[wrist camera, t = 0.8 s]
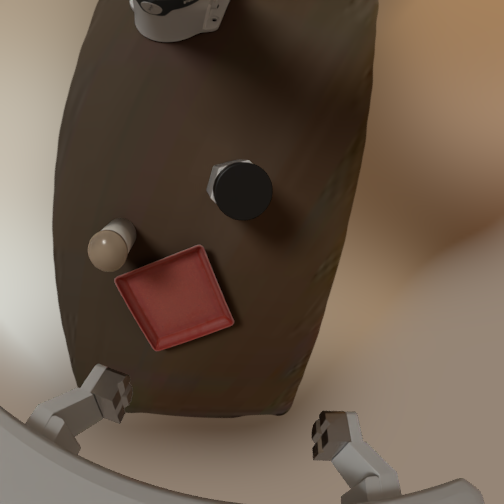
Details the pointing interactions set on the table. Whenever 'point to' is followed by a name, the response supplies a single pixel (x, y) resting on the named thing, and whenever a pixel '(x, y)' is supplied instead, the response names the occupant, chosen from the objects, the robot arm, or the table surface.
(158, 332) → the plant saucer
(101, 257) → the canister
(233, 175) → the jar
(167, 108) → the table surface
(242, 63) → the table surface
